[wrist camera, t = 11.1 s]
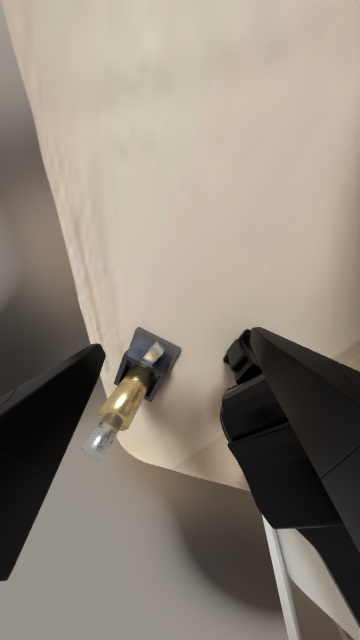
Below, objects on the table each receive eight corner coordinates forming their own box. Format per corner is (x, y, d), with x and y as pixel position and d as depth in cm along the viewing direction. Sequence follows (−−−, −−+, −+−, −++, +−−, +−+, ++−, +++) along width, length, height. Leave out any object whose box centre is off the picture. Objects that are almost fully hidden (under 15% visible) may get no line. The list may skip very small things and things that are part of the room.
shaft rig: (180, 348, 24) (176, 361, 20) (154, 395, 29) (147, 411, 26) (138, 326, 24) (127, 336, 20) (119, 378, 29) (109, 392, 26)
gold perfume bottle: (160, 373, 25) (119, 464, 14) (144, 381, 27) (94, 468, 15) (146, 356, 24) (89, 437, 13) (129, 365, 26) (66, 444, 15)
